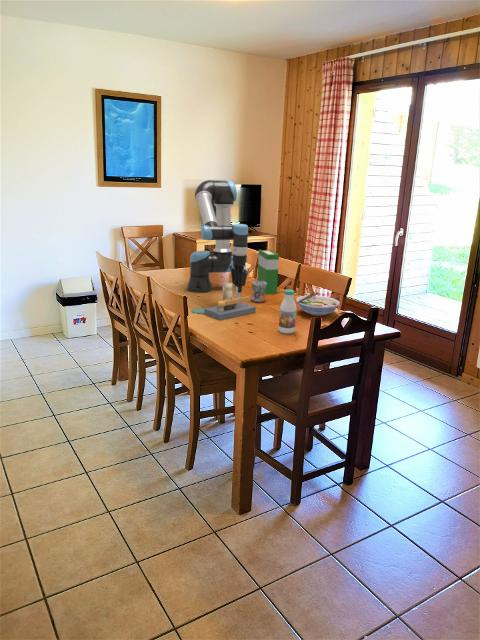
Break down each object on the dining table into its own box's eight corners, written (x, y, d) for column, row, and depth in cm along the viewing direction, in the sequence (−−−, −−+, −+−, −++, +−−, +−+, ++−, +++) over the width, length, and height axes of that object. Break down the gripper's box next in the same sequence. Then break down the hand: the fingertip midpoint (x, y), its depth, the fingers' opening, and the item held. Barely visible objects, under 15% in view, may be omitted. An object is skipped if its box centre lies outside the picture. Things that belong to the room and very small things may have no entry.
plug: (213, 312, 263) (214, 282, 258) (227, 309, 269) (228, 280, 264) (225, 316, 256) (226, 286, 251) (239, 313, 262) (241, 283, 257)
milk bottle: (277, 328, 241) (279, 288, 235) (293, 328, 241) (296, 288, 235) (279, 333, 233) (282, 292, 227) (296, 334, 234) (299, 292, 228)
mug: (267, 303, 283) (268, 284, 280) (251, 303, 282) (252, 284, 279) (264, 297, 295) (264, 279, 292) (248, 297, 294) (249, 279, 290)
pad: (187, 310, 263) (187, 309, 263) (201, 308, 269) (201, 307, 269) (198, 315, 257) (198, 313, 257) (212, 312, 263) (212, 311, 262)
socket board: (204, 314, 259) (204, 303, 257) (239, 306, 274) (239, 296, 272) (220, 320, 250) (220, 309, 248) (255, 312, 265) (255, 302, 263)
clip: (216, 305, 254) (216, 301, 253) (246, 299, 267) (246, 295, 266) (220, 307, 251) (220, 303, 250) (251, 301, 264) (251, 297, 264)
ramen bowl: (327, 324, 251) (329, 308, 248) (286, 315, 262) (287, 300, 259) (345, 312, 271) (347, 298, 268) (306, 305, 282) (308, 291, 280)
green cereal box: (256, 286, 319) (258, 249, 312) (267, 286, 321) (270, 249, 314) (264, 294, 303) (267, 254, 296) (276, 293, 305) (279, 254, 297)
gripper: (226, 253, 264) (224, 296, 271) (242, 257, 255) (240, 301, 262) (236, 251, 269) (235, 294, 276) (253, 255, 260) (251, 299, 267)
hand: (238, 297), depth 269 cm, fingers closed
